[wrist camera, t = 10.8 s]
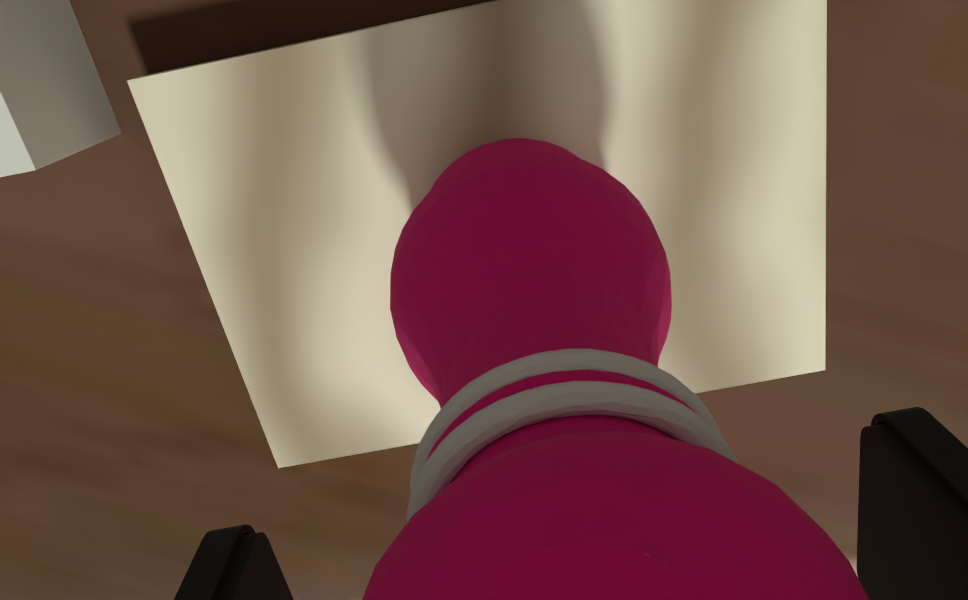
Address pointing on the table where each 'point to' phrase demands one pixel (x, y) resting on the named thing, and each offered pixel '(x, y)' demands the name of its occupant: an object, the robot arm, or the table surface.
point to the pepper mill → (569, 409)
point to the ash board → (472, 123)
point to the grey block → (47, 87)
